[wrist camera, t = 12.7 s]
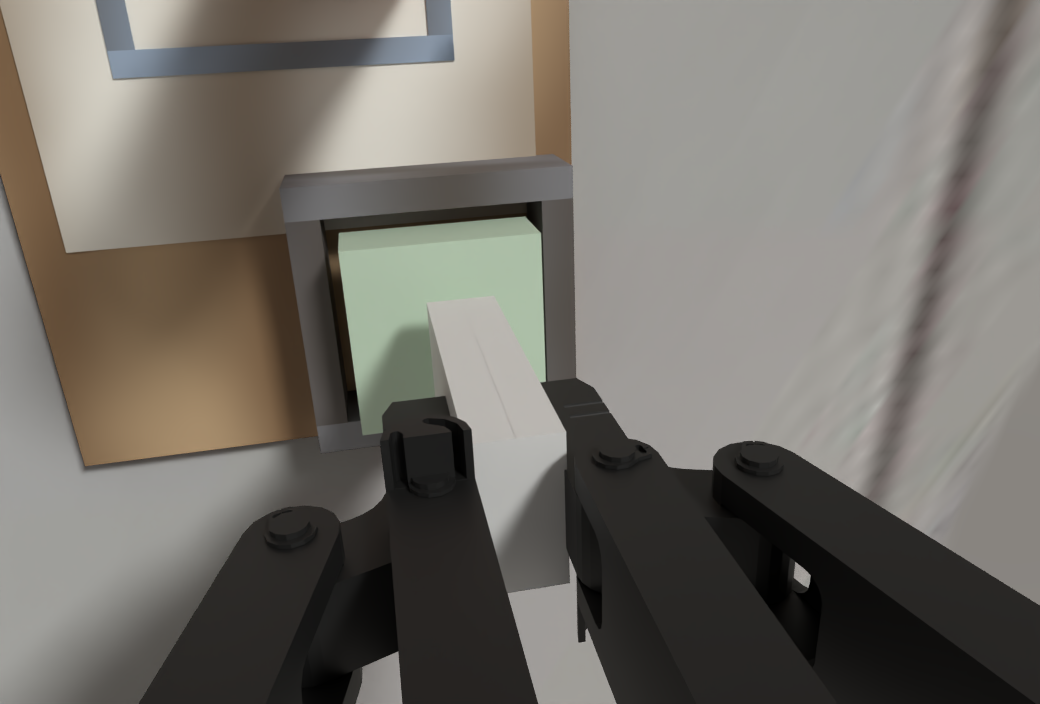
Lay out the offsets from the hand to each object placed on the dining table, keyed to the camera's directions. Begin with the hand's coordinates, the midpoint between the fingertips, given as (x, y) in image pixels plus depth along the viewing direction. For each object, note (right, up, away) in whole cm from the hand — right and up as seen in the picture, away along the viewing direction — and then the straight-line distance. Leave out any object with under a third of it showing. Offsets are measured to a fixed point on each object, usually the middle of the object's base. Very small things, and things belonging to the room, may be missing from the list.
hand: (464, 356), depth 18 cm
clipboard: (-4, +7, +2) cm, 9 cm away
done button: (-1, +1, +3) cm, 3 cm away
